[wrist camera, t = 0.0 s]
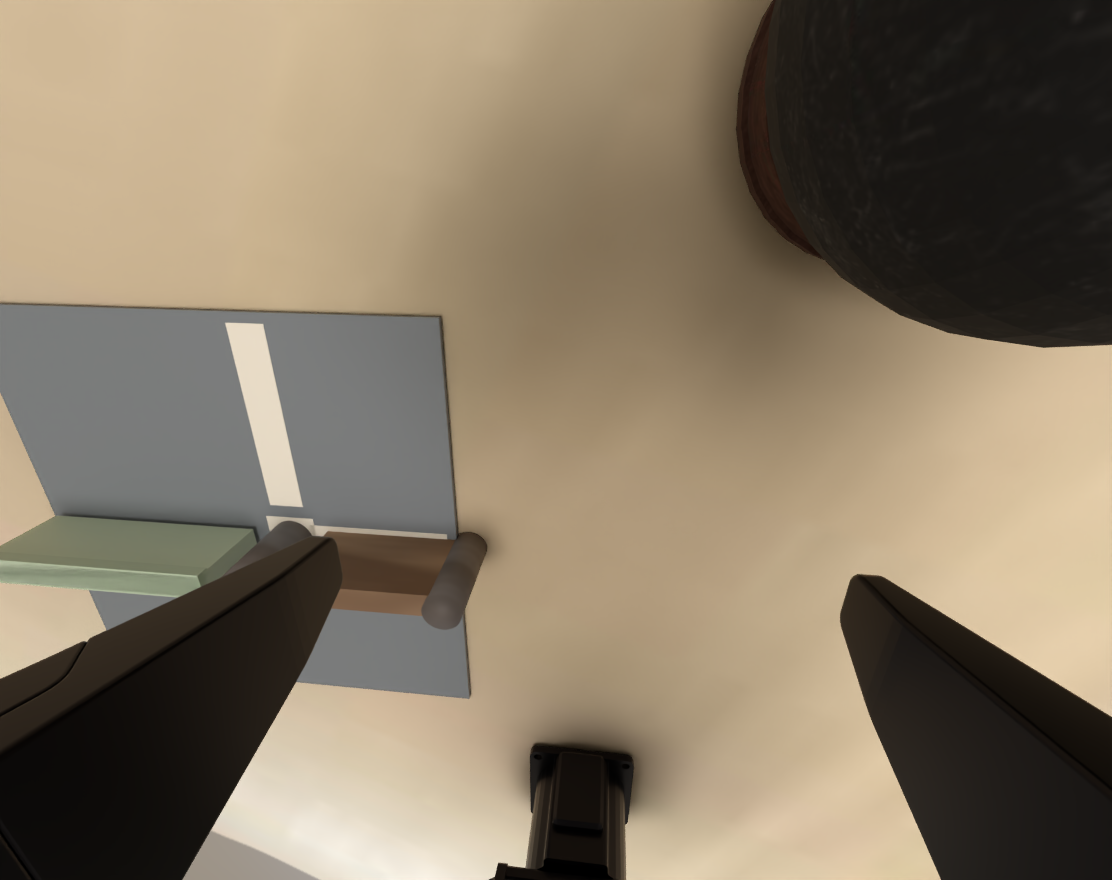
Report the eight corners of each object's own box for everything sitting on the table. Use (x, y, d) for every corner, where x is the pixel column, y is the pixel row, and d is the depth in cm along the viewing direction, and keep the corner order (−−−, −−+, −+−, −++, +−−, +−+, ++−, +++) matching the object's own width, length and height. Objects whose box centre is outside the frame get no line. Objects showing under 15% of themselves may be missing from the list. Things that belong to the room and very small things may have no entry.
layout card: (470, 694, 32) (469, 699, 31) (126, 661, 34) (122, 665, 33) (441, 316, 22) (438, 317, 22) (-33, 302, 24) (-41, 303, 24)
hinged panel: (252, 527, 27) (197, 575, 24) (258, 549, 28) (205, 599, 24) (55, 513, 28) (-27, 558, 25) (65, 535, 29) (-14, 581, 25)
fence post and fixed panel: (487, 564, 27) (462, 634, 23) (282, 549, 28) (219, 614, 24) (485, 530, 27) (459, 595, 22) (273, 516, 28) (206, 575, 23)
